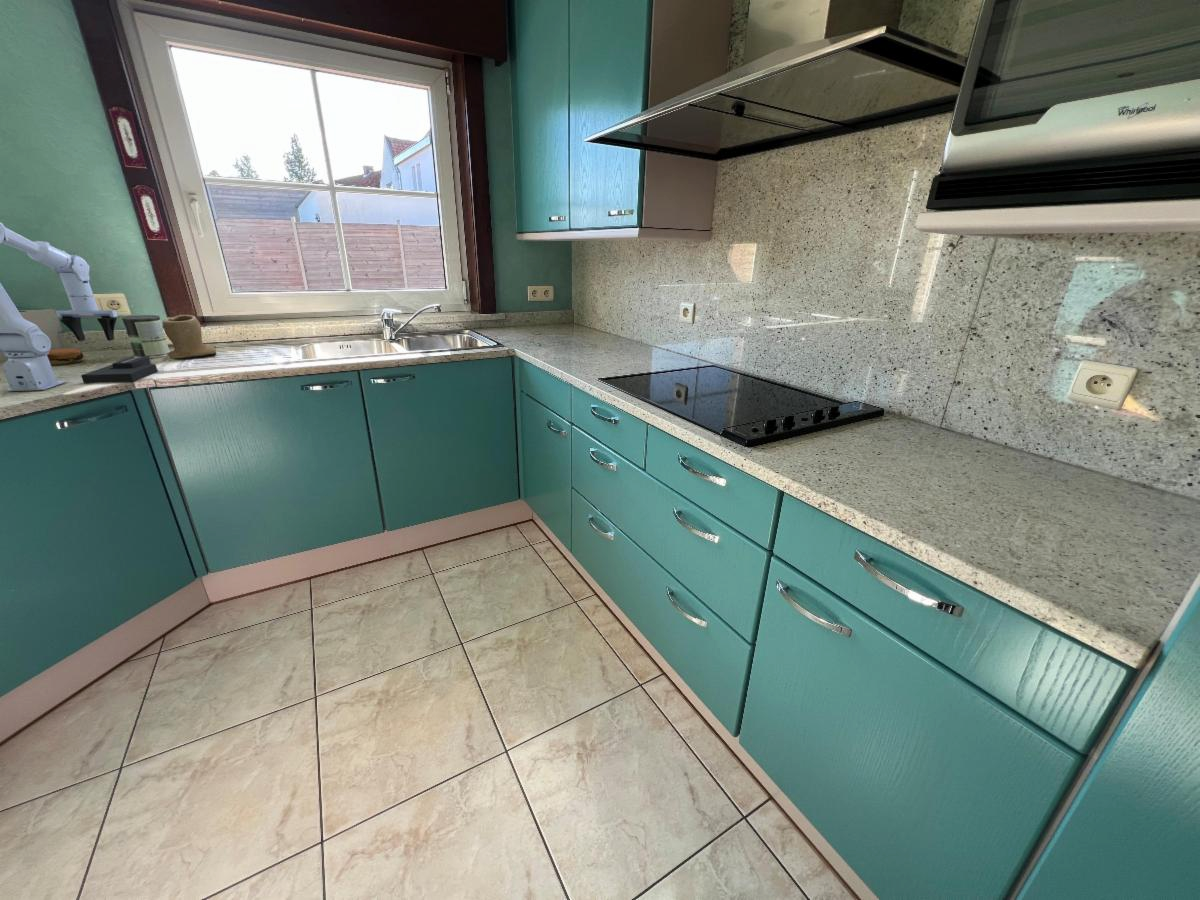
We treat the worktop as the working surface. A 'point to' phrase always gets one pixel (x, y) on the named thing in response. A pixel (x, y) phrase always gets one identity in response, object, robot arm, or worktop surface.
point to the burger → (64, 356)
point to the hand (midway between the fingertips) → (96, 340)
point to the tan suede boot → (186, 337)
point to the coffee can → (146, 336)
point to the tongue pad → (131, 362)
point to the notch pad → (119, 374)
